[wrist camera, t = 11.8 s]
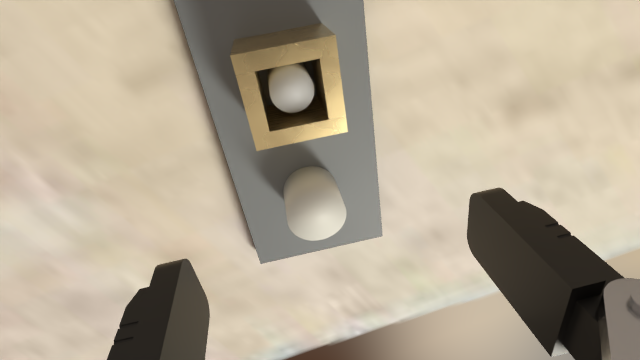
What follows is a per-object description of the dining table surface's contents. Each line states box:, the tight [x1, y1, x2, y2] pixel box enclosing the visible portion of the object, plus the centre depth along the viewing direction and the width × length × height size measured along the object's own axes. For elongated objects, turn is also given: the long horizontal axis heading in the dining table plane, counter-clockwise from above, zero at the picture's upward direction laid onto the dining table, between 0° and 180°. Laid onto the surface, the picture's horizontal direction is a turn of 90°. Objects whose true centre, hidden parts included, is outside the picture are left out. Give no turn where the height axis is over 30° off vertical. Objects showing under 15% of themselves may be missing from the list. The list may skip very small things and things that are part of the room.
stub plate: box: [174, 0, 382, 264], centre depth 28 cm, size 12×24×6 cm, turn 9°
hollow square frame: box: [230, 23, 348, 151], centre depth 24 cm, size 6×6×5 cm
